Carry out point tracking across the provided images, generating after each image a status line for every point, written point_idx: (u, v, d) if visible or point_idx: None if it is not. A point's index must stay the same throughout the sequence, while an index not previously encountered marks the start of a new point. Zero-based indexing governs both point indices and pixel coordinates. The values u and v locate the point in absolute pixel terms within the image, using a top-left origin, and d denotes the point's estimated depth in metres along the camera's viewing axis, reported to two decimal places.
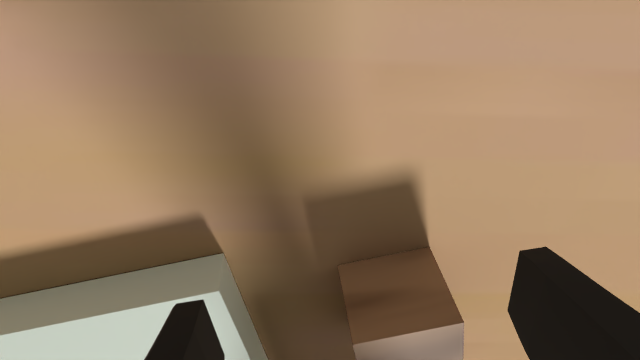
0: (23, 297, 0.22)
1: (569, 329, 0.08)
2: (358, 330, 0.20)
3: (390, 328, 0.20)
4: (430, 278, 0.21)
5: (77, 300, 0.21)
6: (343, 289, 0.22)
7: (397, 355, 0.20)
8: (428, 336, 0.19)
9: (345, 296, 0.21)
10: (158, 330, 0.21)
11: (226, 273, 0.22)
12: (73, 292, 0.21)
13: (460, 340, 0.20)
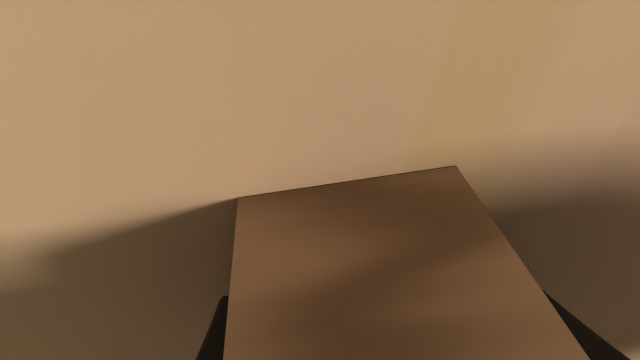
0: None
1: None
2: None
3: None
4: None
5: None
6: None
7: None
8: None
9: None
10: None
11: None
12: None
13: None
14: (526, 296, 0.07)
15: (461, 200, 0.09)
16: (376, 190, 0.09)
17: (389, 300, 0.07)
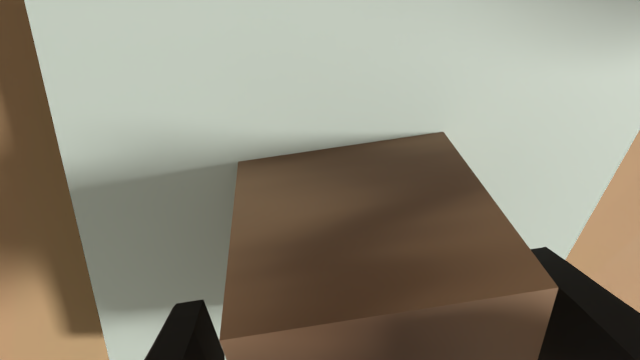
0: None
1: (569, 329, 0.08)
2: None
3: None
4: None
5: None
6: None
7: None
8: None
9: None
10: (138, 108, 0.09)
11: None
12: None
13: (306, 332, 0.06)
14: (502, 236, 0.07)
15: (446, 160, 0.09)
16: (367, 153, 0.10)
17: (376, 242, 0.08)
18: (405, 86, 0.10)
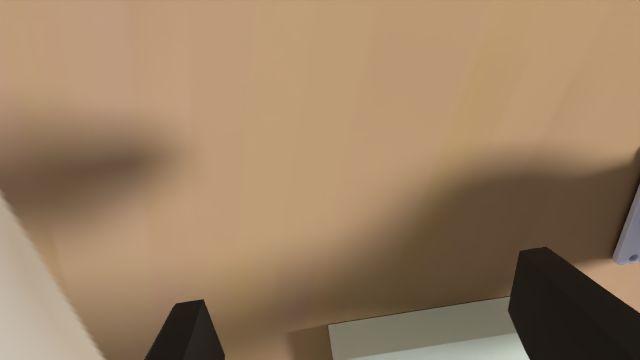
0: None
1: (569, 329, 0.08)
2: None
3: None
4: None
5: None
6: None
7: None
8: None
9: None
10: None
11: (341, 333, 0.26)
12: None
13: None
14: None
15: None
16: None
17: None
18: None
